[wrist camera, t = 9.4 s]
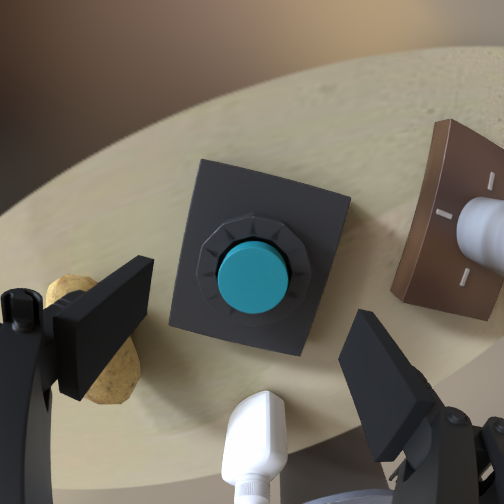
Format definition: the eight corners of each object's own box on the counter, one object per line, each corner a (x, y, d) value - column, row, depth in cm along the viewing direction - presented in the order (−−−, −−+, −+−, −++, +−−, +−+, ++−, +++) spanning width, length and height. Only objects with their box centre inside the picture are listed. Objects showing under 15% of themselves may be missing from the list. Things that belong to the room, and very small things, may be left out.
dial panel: (473, 310, 24) (488, 322, 21) (389, 290, 23) (402, 303, 21) (514, 167, 20) (532, 168, 18) (434, 122, 20) (452, 117, 17)
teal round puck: (276, 308, 20) (277, 320, 18) (215, 294, 20) (211, 304, 18) (293, 249, 19) (297, 256, 17) (229, 233, 19) (226, 239, 17)
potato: (100, 377, 26) (71, 416, 20) (58, 269, 24) (14, 294, 18) (160, 374, 26) (138, 420, 20) (119, 256, 23) (78, 281, 17)
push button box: (297, 342, 25) (302, 370, 21) (175, 313, 24) (161, 337, 20) (343, 195, 22) (360, 199, 18) (206, 160, 21) (194, 157, 18)
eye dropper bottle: (218, 398, 26) (197, 507, 15) (278, 385, 26) (285, 499, 14) (235, 429, 27) (223, 532, 15) (291, 417, 27) (300, 524, 15)
